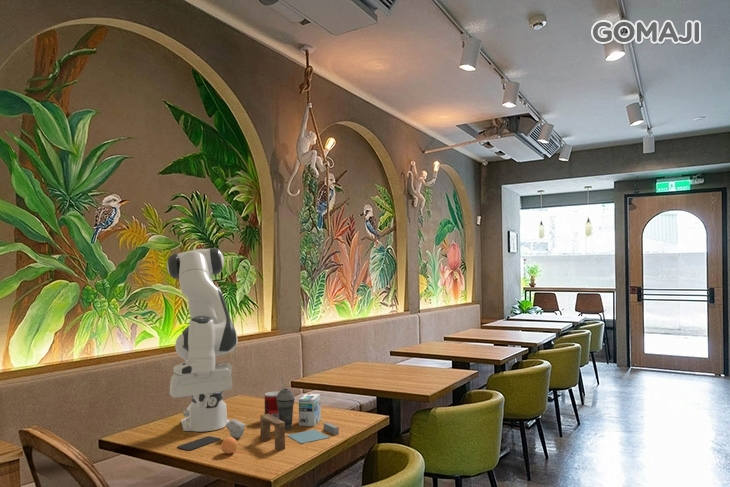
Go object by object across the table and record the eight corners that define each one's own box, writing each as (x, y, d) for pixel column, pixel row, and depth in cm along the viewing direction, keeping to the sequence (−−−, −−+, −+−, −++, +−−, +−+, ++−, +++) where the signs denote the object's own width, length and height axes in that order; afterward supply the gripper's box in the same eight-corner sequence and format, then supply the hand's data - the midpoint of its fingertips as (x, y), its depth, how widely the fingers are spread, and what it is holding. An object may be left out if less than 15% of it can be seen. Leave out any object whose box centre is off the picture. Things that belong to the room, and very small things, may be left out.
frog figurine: (225, 437, 200) (225, 418, 200) (243, 434, 203) (243, 416, 203) (227, 441, 194) (227, 422, 195) (246, 439, 197) (246, 420, 197)
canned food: (287, 418, 224) (287, 392, 224) (274, 423, 217) (274, 396, 218) (273, 416, 228) (273, 390, 228) (260, 420, 221) (260, 394, 222)
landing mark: (286, 435, 200) (286, 435, 200) (314, 429, 207) (314, 429, 207) (301, 443, 190) (301, 443, 190) (330, 437, 197) (330, 437, 197)
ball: (219, 452, 182) (218, 437, 183) (234, 449, 185) (234, 434, 186) (224, 457, 178) (224, 441, 178) (239, 454, 181) (239, 437, 181)
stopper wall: (323, 429, 207) (323, 423, 207) (328, 428, 208) (328, 422, 208) (334, 434, 201) (334, 428, 201) (338, 433, 202) (338, 427, 202)
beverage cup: (291, 432, 205) (290, 379, 206) (273, 431, 206) (273, 379, 207) (297, 426, 212) (297, 376, 213) (280, 425, 213) (279, 375, 214)
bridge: (277, 450, 184) (277, 423, 184) (260, 440, 196) (260, 415, 196) (285, 448, 186) (284, 422, 186) (268, 438, 197) (267, 413, 198)
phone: (222, 438, 197) (189, 450, 184) (222, 441, 197) (189, 452, 184) (208, 435, 201) (175, 446, 188) (208, 437, 201) (175, 449, 188)
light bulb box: (314, 426, 212) (314, 399, 212) (298, 426, 213) (298, 399, 213) (321, 419, 222) (321, 393, 223) (305, 418, 223) (305, 392, 224)
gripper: (228, 360, 186) (228, 400, 186) (168, 367, 175) (168, 410, 174) (234, 363, 181) (235, 404, 180) (173, 370, 170) (173, 414, 169)
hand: (201, 407), depth 177 cm, fingers closed
